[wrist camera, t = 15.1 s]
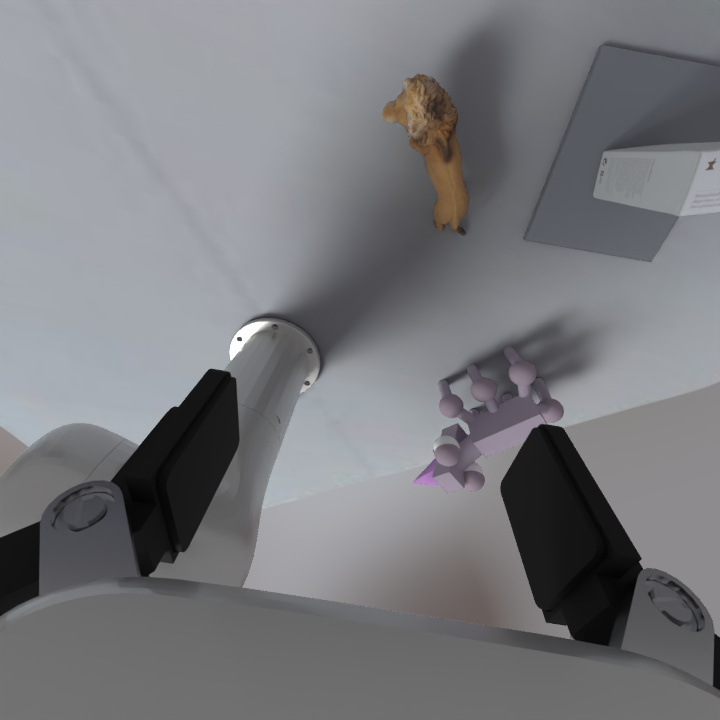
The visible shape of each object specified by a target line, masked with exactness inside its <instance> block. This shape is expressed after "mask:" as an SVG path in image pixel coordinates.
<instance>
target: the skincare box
mask: <svg viewBox="0 0 720 720" xmlns="http://www.w3.org/2000/svg"><path fill="white" fill-rule="evenodd" d="M593 197H594V198H597V199H601V200H606V201H611V202H616V203H621V204H625V205H629V206H634V207H639V208H644V209H648V210H653V211H658V212H664V213H668V214H672V215H676V216H689V215H698V214H708V213H718V212H720V142H705V143H679V144H663V145H652V146H642V147H633V148H624V149H615V150H607V151H604V152H603V155H602V159H601V163H600V166H599V171H598V175H597V179H596V183H595V188H594V192H593Z"/></svg>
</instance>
